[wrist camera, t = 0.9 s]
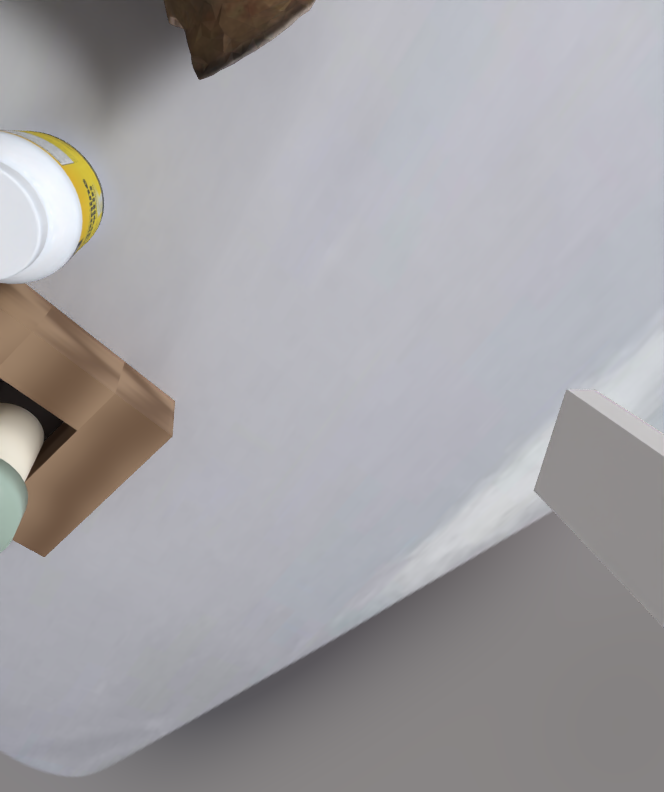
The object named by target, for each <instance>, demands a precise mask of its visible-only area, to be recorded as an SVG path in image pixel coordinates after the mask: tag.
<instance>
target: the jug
mask: <svg viewBox="0 0 664 792" xmlns="http://www.w3.org/2000/svg"><path fill="white" fill-rule="evenodd" d="M314 2H315V0H164V3H165V8H166V12H167V17H168V21H169V23H170V24H172V25H174V26H176V27H179V28H182V29H184V30H185V34H186V38H187V43H188V47H189V50H190V53H191V60H192V65H193V68H194V71H195V73H196V75H197V77H198V79H199V80H201V79H204V78H207V77H209V76H212V75H214V74H215V73H217V72H219V71H220V70H222V69H224V68H226V67H228V66H230V65H232V64H234V63H236V62H237V61H239V60H240V59H242V58H243V57H245V56H247V55H249V54H250V53H252V52H254V51H256V50H257V49H259V48H260V47H262V46H263V45H265V44H266V43H268V42H269V41H271V40H272V39H274V38H275V37H276V36H278V35H279V34H280V33H282V32H283V31H284V30H285V29H287V28H288V27H289V26H291V25H292V24H293V23H294V22H295V21H296V20H297V19H298V18H299V17H300V16H302V15H303V14H305V13H306V12H308V11H309V10H310V9H311V7H312V6H313V4H314Z"/></svg>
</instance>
